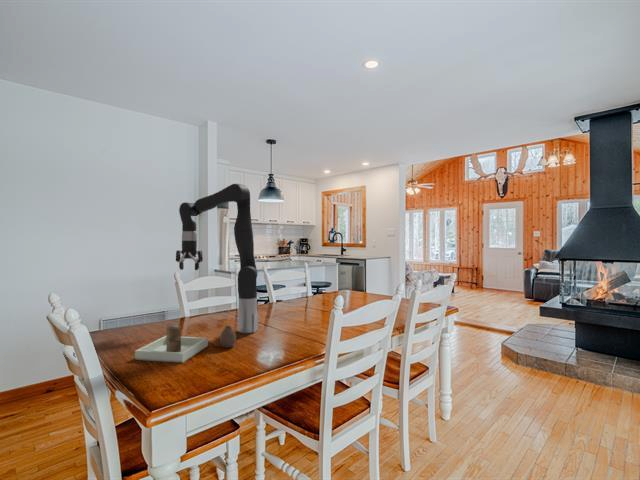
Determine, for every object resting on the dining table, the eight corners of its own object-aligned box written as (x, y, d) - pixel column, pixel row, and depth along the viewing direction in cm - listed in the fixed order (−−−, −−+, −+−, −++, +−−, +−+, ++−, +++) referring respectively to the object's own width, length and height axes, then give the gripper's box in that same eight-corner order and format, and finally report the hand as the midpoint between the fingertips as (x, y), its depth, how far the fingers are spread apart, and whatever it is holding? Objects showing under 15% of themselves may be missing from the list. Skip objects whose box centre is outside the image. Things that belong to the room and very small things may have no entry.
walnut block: (178, 348, 141) (178, 324, 141) (180, 351, 138) (181, 326, 138) (166, 350, 139) (166, 325, 139) (168, 353, 135) (169, 328, 135)
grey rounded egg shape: (239, 344, 148) (239, 325, 148) (230, 349, 142) (230, 329, 142) (226, 343, 151) (226, 323, 151) (216, 347, 144) (216, 327, 144)
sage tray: (207, 345, 147) (207, 337, 146) (182, 362, 127) (182, 353, 127) (165, 343, 149) (165, 335, 149) (135, 359, 130) (135, 350, 130)
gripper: (173, 239, 177) (172, 270, 177) (198, 240, 175) (198, 270, 175) (180, 239, 184) (180, 268, 184) (205, 239, 182) (204, 269, 182)
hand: (189, 269), depth 180 cm, fingers open, 8 cm apart
